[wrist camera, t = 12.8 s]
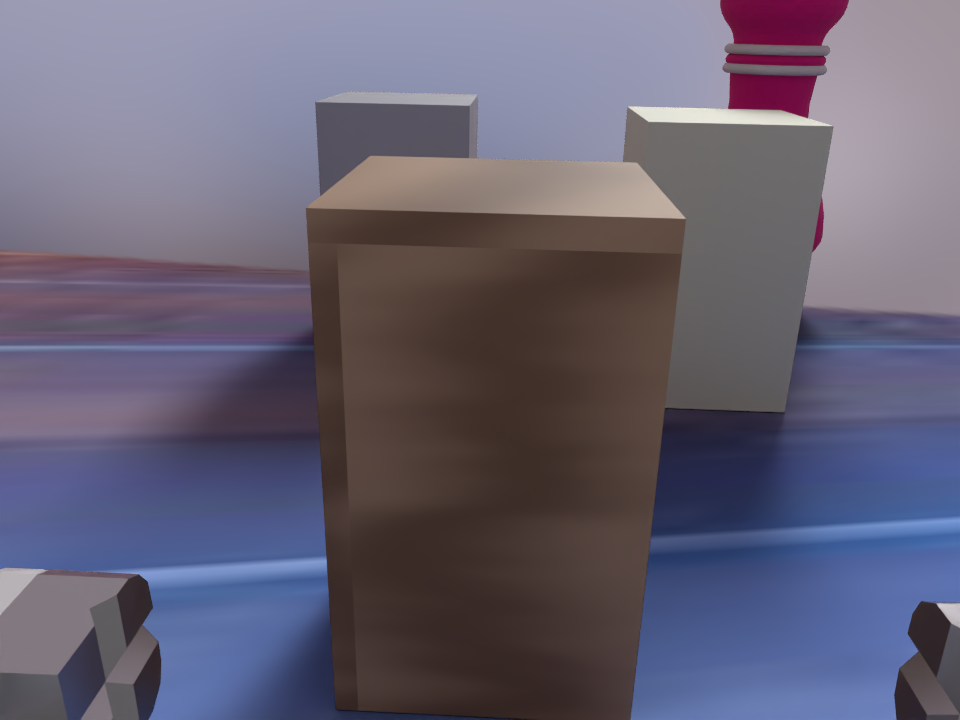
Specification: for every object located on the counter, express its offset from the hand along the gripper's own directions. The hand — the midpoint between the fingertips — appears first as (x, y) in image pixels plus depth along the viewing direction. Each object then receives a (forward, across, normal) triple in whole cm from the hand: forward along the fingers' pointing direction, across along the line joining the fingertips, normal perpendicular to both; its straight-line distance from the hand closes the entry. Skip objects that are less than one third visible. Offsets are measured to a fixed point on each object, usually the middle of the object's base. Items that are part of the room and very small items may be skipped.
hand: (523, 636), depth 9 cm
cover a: (+10, +1, +8) cm, 13 cm away
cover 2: (+26, -8, +8) cm, 28 cm away
